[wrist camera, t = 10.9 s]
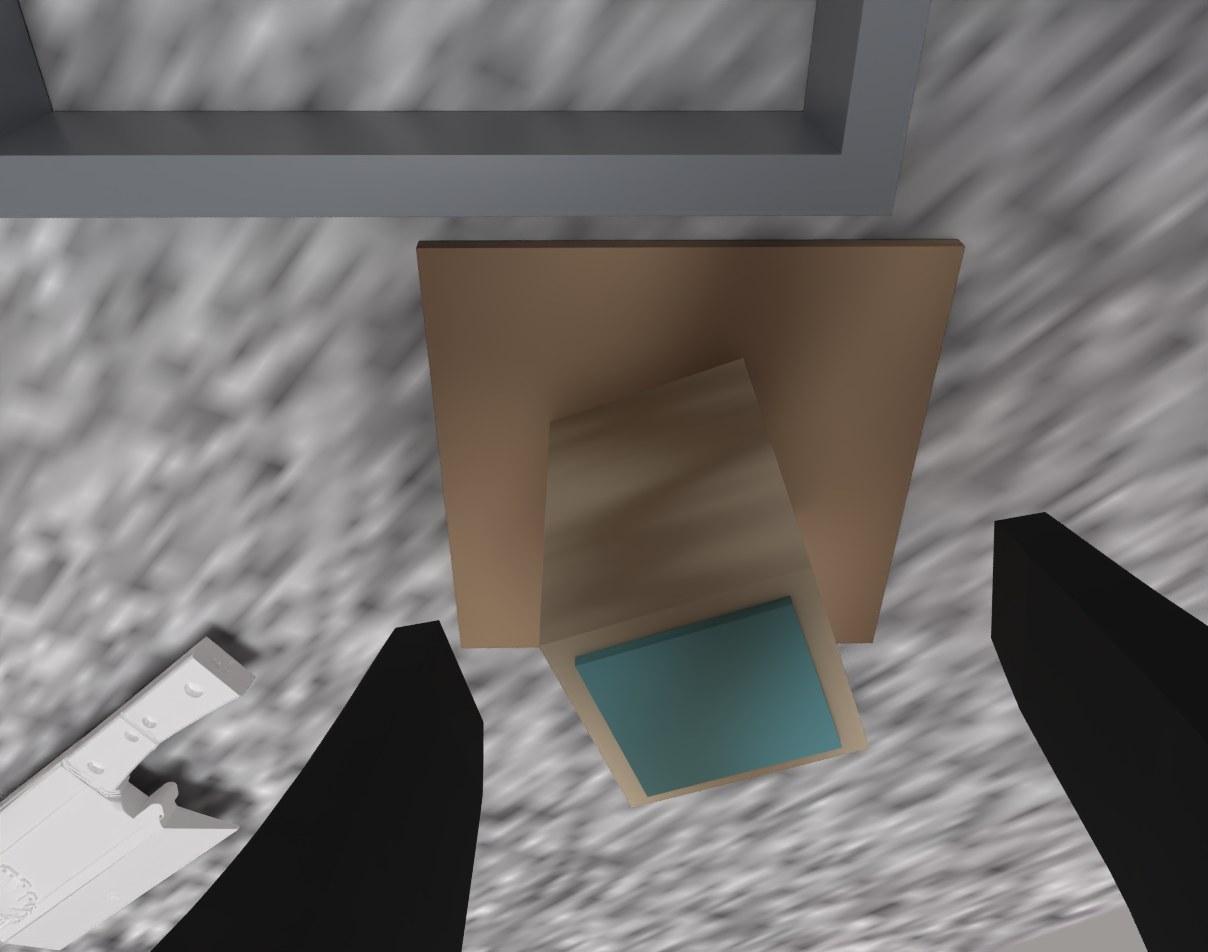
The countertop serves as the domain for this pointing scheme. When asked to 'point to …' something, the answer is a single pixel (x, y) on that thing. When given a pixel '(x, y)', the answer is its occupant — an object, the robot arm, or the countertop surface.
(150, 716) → the white plastic strip tool
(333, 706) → the countertop surface
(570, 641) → the label box
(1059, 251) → the countertop surface
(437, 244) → the pad
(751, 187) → the bin
